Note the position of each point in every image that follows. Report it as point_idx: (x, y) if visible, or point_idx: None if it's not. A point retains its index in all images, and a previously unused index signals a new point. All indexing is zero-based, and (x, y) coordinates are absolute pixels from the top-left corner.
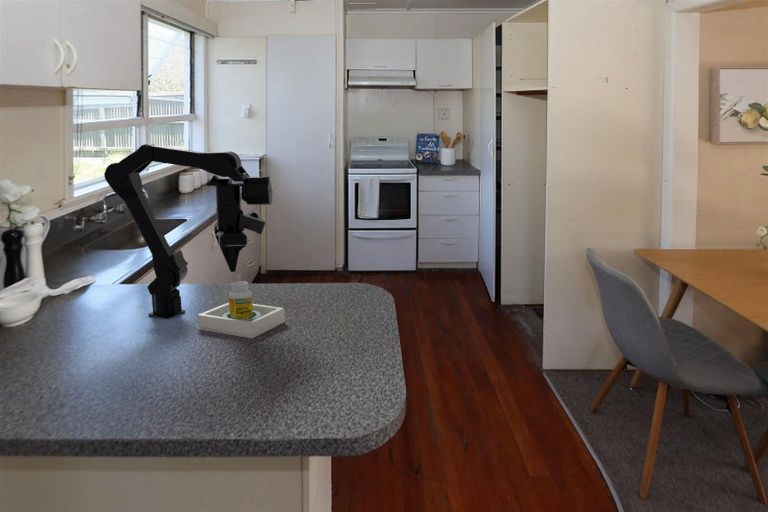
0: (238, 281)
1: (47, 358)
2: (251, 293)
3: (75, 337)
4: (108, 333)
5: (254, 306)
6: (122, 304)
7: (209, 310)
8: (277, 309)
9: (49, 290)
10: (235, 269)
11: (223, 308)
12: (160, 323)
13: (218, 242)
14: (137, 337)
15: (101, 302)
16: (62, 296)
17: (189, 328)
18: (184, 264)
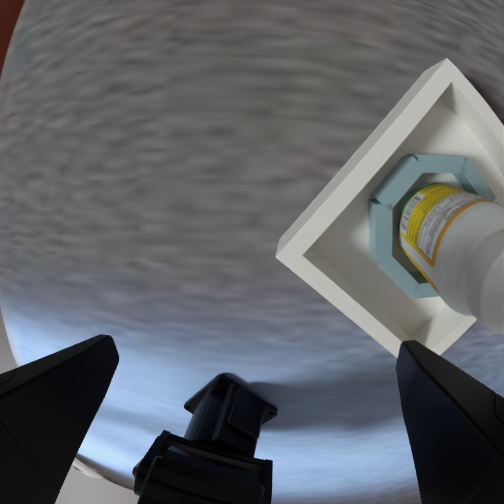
0: (488, 294)
1: (414, 493)
2: (501, 206)
3: (336, 494)
4: (338, 473)
5: (379, 166)
6: (142, 447)
7: (387, 345)
8: (460, 87)
9: (85, 474)
10: (423, 347)
11: (353, 295)
12: (307, 419)
13: (53, 501)
14: (390, 441)
15: (132, 461)
16: (108, 476)
17: (383, 366)
18: (185, 502)
